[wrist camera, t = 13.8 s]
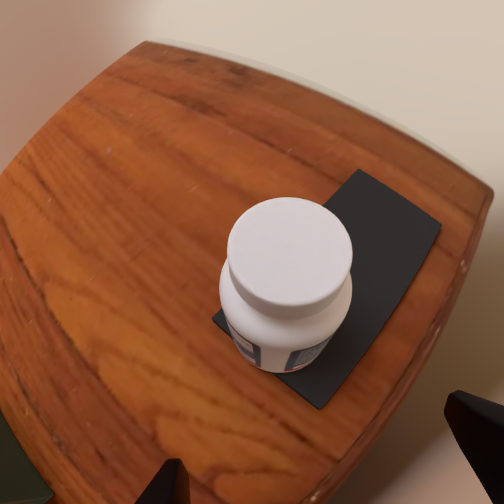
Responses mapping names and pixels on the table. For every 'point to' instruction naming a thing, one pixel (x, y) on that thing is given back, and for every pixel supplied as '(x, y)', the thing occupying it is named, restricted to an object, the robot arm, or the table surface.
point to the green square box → (18, 473)
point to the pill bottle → (285, 282)
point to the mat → (364, 277)
